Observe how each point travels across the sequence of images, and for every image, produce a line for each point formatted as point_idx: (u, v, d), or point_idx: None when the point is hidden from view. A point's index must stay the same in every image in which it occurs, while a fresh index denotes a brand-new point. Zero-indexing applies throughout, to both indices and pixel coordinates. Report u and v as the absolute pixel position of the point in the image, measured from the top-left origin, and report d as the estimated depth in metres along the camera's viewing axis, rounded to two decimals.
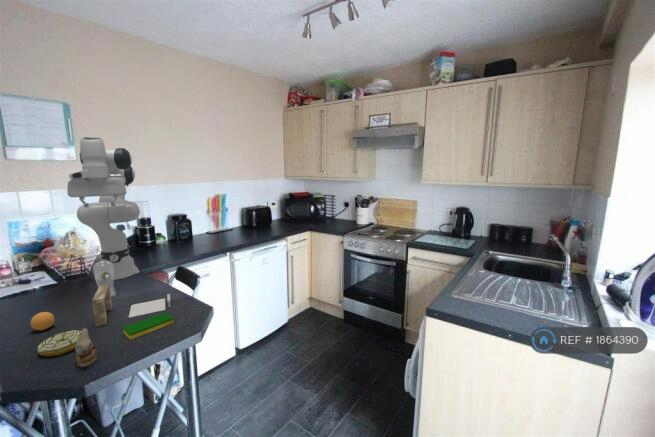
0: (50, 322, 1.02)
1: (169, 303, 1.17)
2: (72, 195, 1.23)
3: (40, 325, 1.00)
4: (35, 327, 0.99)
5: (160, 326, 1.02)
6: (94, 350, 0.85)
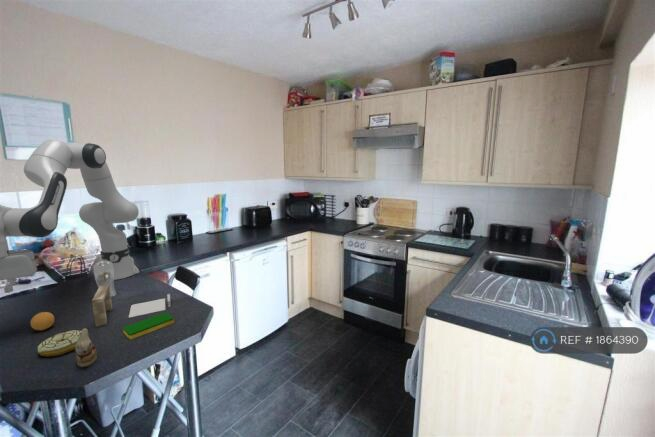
0: (50, 322, 1.02)
1: (169, 303, 1.17)
2: None
3: (40, 325, 1.00)
4: (35, 327, 0.99)
5: (160, 326, 1.02)
6: (94, 350, 0.85)
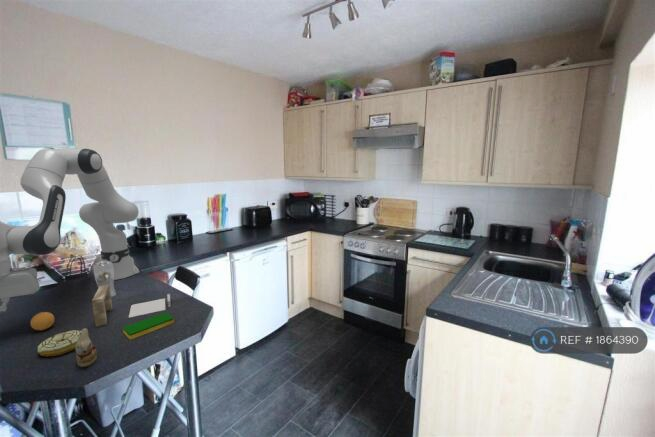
0: (50, 322, 1.02)
1: (169, 303, 1.17)
2: None
3: (40, 325, 1.00)
4: (35, 327, 0.99)
5: (160, 326, 1.02)
6: (94, 350, 0.85)
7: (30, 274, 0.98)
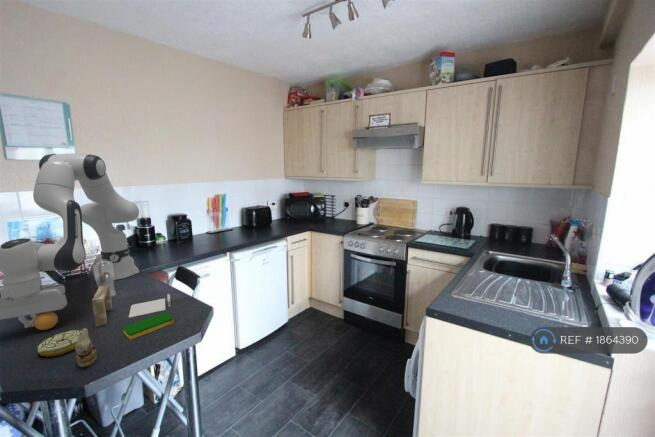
0: (53, 324, 1.02)
1: (169, 303, 1.17)
2: None
3: (44, 325, 1.00)
4: (38, 326, 0.99)
5: (160, 326, 1.02)
6: (94, 350, 0.85)
7: (59, 291, 1.02)
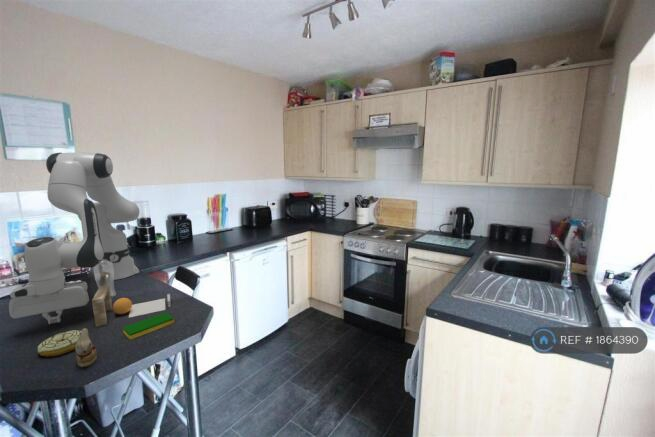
0: None
1: (169, 303, 1.17)
2: (16, 316, 0.97)
3: (122, 310, 1.10)
4: (117, 309, 1.10)
5: (160, 326, 1.02)
6: (94, 350, 0.85)
7: (82, 287, 1.05)
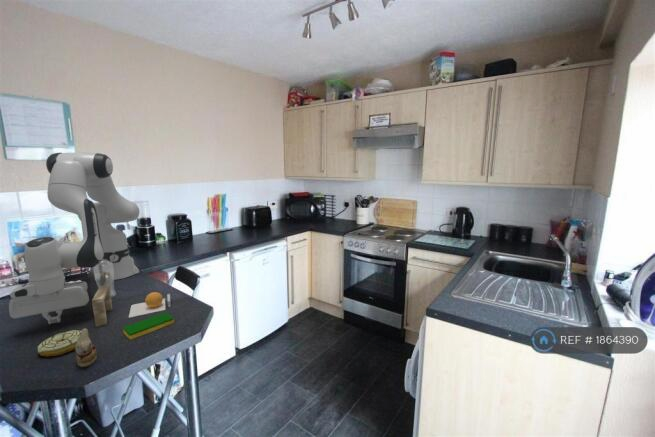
0: (150, 295, 1.15)
1: (169, 303, 1.17)
2: (16, 316, 0.97)
3: (153, 301, 1.15)
4: (157, 302, 1.16)
5: (160, 326, 1.02)
6: (94, 350, 0.85)
7: (82, 287, 1.05)
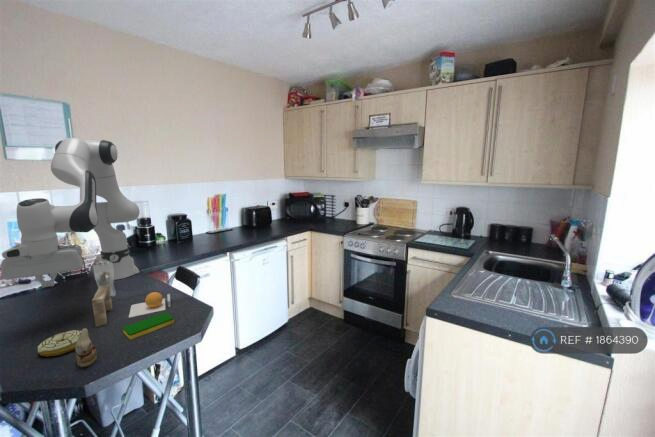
0: (150, 295, 1.15)
1: (169, 303, 1.17)
2: (8, 277, 0.95)
3: (153, 301, 1.15)
4: (157, 302, 1.16)
5: (160, 326, 1.02)
6: (94, 350, 0.85)
7: (76, 251, 1.03)
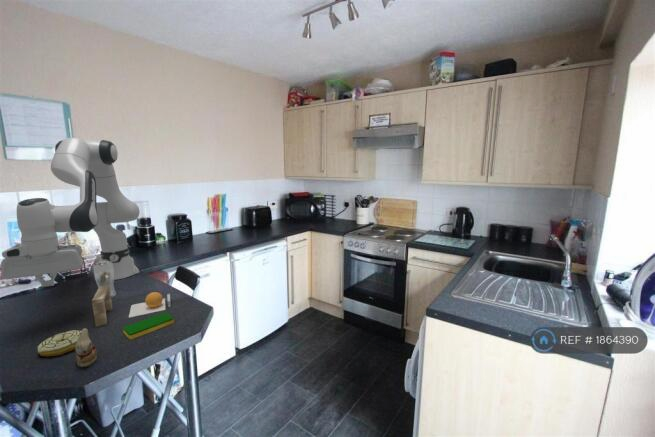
0: (150, 295, 1.15)
1: (169, 303, 1.17)
2: (8, 277, 0.95)
3: (153, 301, 1.15)
4: (157, 302, 1.16)
5: (160, 326, 1.02)
6: (94, 350, 0.85)
7: (76, 251, 1.03)
